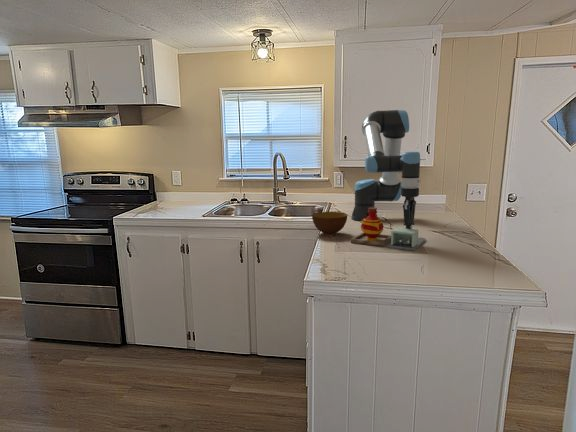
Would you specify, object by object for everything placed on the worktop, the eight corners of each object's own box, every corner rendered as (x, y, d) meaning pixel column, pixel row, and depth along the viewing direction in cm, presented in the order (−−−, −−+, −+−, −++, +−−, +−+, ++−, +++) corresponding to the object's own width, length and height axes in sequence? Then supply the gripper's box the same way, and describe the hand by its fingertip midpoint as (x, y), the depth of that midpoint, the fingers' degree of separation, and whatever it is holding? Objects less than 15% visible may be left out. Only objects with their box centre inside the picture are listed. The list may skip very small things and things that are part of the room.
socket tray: (350, 242, 187) (350, 239, 186) (363, 236, 199) (363, 232, 199) (382, 246, 179) (382, 242, 178) (393, 239, 191) (393, 235, 191)
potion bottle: (384, 237, 192) (384, 206, 189) (382, 243, 182) (382, 210, 180) (361, 236, 195) (362, 206, 193) (358, 241, 186) (359, 209, 183)
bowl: (305, 235, 204) (304, 215, 202) (326, 229, 217) (326, 210, 215) (333, 240, 192) (333, 219, 191) (354, 233, 205) (354, 214, 203)
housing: (391, 244, 177) (391, 230, 176) (395, 241, 183) (396, 227, 182) (413, 247, 172) (414, 233, 171) (417, 243, 178) (418, 229, 177)
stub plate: (388, 247, 177) (388, 239, 176) (402, 238, 193) (402, 230, 193) (414, 250, 171) (414, 242, 170) (425, 240, 188) (426, 233, 187)
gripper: (414, 189, 170) (413, 243, 175) (422, 185, 181) (420, 236, 186) (397, 188, 174) (396, 241, 179) (405, 185, 185) (404, 235, 190)
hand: (408, 239), depth 182 cm, fingers closed
